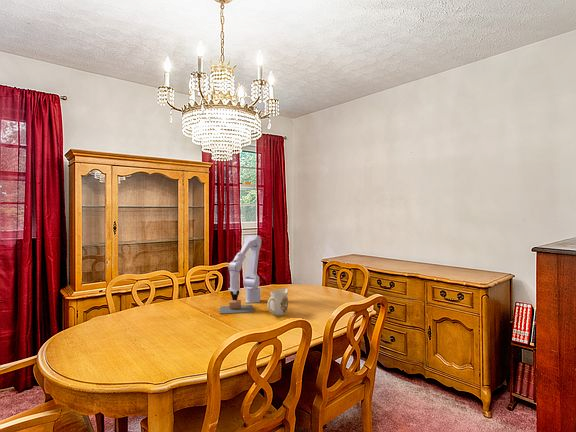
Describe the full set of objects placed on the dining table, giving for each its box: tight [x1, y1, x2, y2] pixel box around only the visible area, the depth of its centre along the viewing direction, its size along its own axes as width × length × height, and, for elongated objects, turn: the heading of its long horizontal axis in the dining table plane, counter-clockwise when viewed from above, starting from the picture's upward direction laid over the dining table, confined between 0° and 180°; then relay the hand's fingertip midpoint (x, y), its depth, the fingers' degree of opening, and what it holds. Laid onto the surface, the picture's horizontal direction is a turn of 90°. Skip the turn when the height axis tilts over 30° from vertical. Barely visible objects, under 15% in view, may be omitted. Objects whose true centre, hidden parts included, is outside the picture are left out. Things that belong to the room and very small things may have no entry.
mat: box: [219, 304, 255, 315], centre depth 210 cm, size 20×14×1 cm
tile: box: [228, 299, 242, 309], centre depth 210 cm, size 7×2×5 cm, turn 99°
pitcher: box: [266, 287, 289, 317], centre depth 201 cm, size 11×18×14 cm, turn 143°
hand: (234, 302), depth 212 cm, fingers closed
